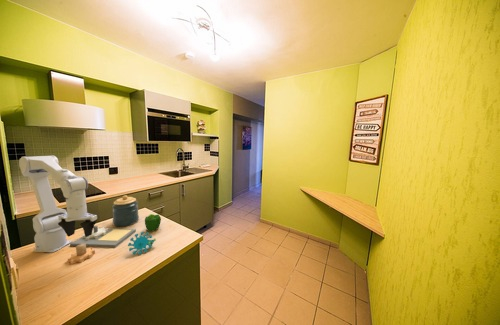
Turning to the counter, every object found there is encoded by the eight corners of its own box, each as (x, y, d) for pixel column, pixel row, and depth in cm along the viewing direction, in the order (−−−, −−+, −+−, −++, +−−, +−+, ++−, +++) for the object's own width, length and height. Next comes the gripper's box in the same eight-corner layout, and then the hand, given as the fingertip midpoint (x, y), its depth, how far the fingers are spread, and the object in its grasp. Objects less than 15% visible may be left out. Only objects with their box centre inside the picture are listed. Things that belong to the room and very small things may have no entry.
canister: (112, 221, 102) (110, 194, 99) (137, 215, 110) (135, 191, 108) (113, 229, 92) (111, 200, 90) (140, 222, 101) (139, 196, 99)
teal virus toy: (126, 256, 70) (129, 232, 75) (126, 259, 74) (130, 236, 79) (155, 251, 76) (156, 229, 81) (153, 254, 79) (155, 233, 85)
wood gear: (62, 263, 66) (60, 251, 66) (82, 250, 75) (81, 239, 74) (81, 264, 66) (80, 252, 66) (99, 250, 75) (99, 240, 74)
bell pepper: (154, 224, 100) (154, 209, 99) (163, 227, 97) (163, 211, 96) (141, 230, 92) (140, 214, 91) (150, 234, 89) (150, 217, 88)
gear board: (70, 245, 77) (69, 234, 77) (97, 230, 91) (96, 220, 91) (115, 247, 78) (114, 236, 77) (135, 231, 91) (135, 221, 91)
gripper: (47, 209, 64) (51, 240, 65) (84, 210, 64) (87, 241, 65) (67, 202, 71) (71, 230, 72) (100, 203, 71) (102, 232, 72)
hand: (79, 235), depth 69 cm, fingers open, 7 cm apart
